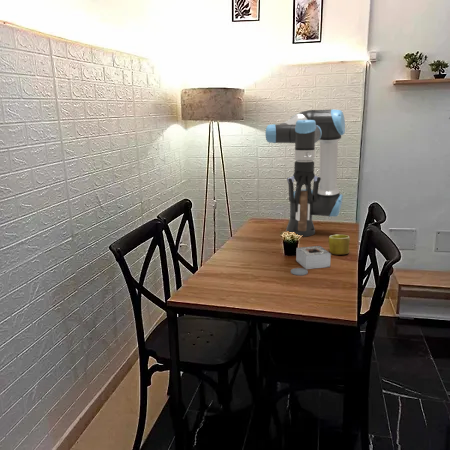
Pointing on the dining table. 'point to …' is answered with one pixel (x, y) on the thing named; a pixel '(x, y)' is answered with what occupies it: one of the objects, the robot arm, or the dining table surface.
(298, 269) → the coaster
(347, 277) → the dining table surface
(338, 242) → the mug
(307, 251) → the grey square block
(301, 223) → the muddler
